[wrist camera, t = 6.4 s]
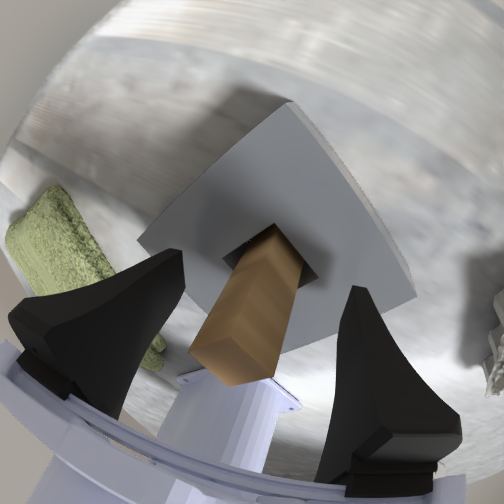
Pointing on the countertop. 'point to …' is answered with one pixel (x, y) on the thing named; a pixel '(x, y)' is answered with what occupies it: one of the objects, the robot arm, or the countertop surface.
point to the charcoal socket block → (285, 225)
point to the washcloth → (63, 254)
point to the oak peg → (251, 312)
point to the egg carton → (496, 351)
